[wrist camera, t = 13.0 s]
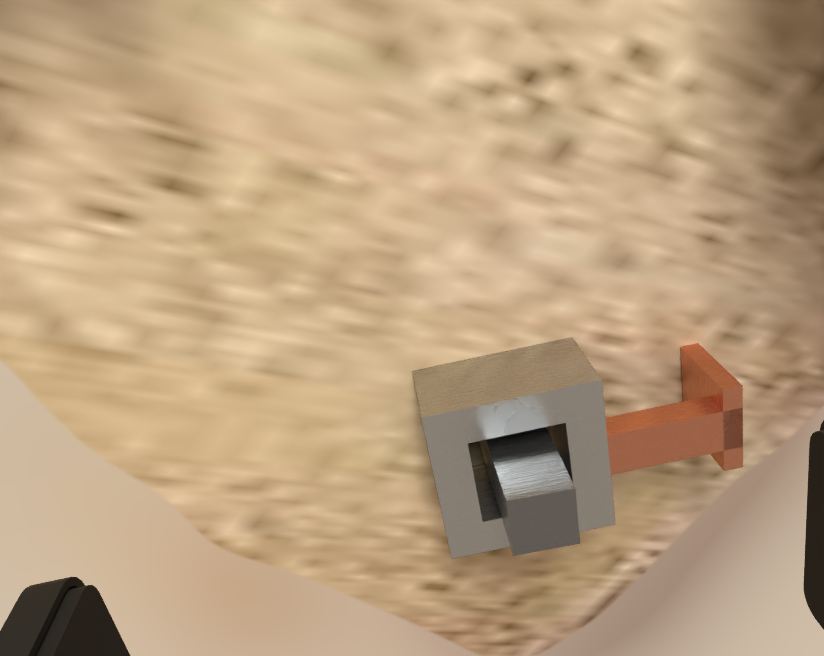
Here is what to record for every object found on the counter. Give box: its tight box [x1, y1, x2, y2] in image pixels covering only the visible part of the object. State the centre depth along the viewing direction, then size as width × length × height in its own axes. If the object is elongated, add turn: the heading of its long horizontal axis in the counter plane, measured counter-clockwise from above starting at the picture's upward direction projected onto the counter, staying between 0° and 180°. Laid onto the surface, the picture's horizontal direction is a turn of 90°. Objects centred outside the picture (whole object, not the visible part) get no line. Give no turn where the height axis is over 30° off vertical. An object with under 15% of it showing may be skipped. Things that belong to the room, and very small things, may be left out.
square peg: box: [480, 427, 580, 556], centre depth 38 cm, size 3×3×9 cm
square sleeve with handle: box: [412, 338, 743, 559], centre depth 40 cm, size 16×9×5 cm, turn 101°
